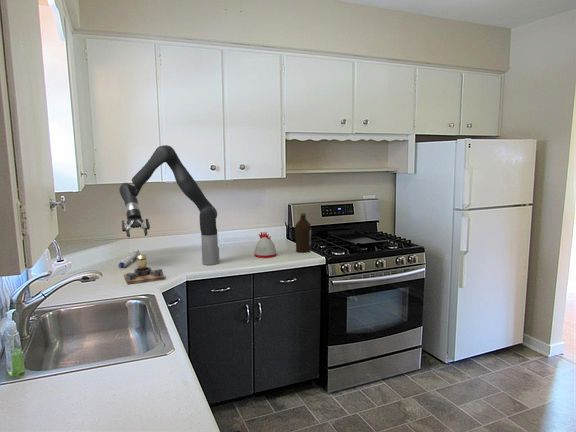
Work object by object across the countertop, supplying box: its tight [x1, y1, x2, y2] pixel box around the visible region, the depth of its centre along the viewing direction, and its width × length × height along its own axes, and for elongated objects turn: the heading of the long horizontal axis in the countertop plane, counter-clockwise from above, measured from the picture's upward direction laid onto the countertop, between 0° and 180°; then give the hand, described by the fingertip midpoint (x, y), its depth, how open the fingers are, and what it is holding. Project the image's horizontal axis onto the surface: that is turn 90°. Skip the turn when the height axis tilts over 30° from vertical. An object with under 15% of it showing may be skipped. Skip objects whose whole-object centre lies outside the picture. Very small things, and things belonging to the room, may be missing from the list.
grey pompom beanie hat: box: [253, 231, 277, 259], centre depth 259 cm, size 14×14×15 cm
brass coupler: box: [136, 253, 148, 271], centre depth 215 cm, size 5×5×10 cm
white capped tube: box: [117, 248, 142, 269], centre depth 245 cm, size 5×7×25 cm
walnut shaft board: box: [123, 269, 166, 286], centre depth 213 cm, size 18×16×2 cm
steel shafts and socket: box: [126, 266, 164, 280], centre depth 213 cm, size 18×13×3 cm
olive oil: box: [294, 212, 312, 254], centre depth 268 cm, size 11×11×25 cm
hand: (137, 235), depth 223 cm, fingers open, 8 cm apart
